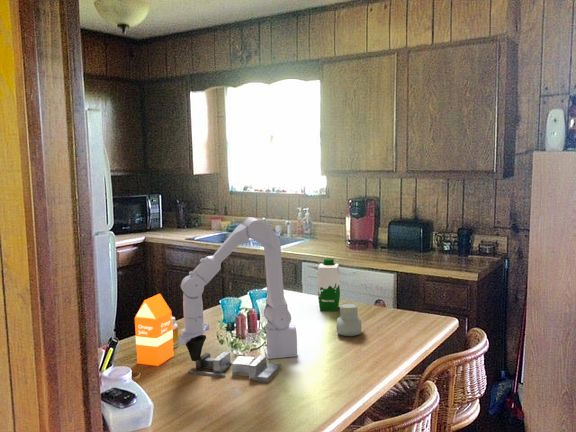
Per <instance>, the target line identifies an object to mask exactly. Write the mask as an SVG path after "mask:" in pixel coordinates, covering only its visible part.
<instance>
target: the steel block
mask: <svg viewBox="0 0 576 432" xmlns="http://www.w3.org/2000/svg"><path fill="white" fill-rule="evenodd" d="M255 359H256V357H254V356H241V355H239V356H237V357H236V359H234V361H232V362H233V363H232V365H231V371H232V376H243V377H249V365H250V364H251V363H252V362H253V361H254V360H255Z"/></svg>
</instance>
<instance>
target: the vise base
mask: <svg viewBox="0 0 576 432" xmlns="http://www.w3.org/2000/svg"><path fill="white" fill-rule="evenodd" d="M267 360H268V359H267V356H266V355H261V354H259V356H258V357H255V360H254V361H253V362H252V363H251V364H250V365H249V376H248V377H249V380H254V382H257V383H263V384H265V383H266V384H268V383H270V381H271V380H272V379H273V378H275V376H276V375H277V374H278V373H279V372H280V371H281V369H282V367H281V366H282V365H281V363H271V362H267ZM233 362H234V361H231V365H230V366H232V363H233ZM188 373H189V374H194V373H196V375H197V374H198V375H202V374H203V375H205V376H210V375H211V376H213V377H220V378H226V374H225V373H221V374H219V373H214V372H209V371H202V370H196V369H195V370H192V369H189V370H188Z"/></svg>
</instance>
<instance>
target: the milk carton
mask: <svg viewBox="0 0 576 432" xmlns="http://www.w3.org/2000/svg"><path fill="white" fill-rule="evenodd" d="M334 260H335V259H334V258H330V257H329V258H323V263H319V264H318V268H317V273H316V274H317V297H318V304H319V311H320V312H338V310H339V305H340V299H341V286H340V285H341V284H340V283H341V279H340V276H341V275H340V265H339V263H335V262H334Z"/></svg>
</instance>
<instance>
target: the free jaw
mask: <svg viewBox="0 0 576 432" xmlns="http://www.w3.org/2000/svg"><path fill="white" fill-rule="evenodd" d="M231 362H232V361H231V352H230V351H223V352H221V354H219V355H217V356H216V357H215V358H213V357H211V353H209V352H205V353H203V354H201V356H200V357H199V358H198V359H197V360H196V361H195V371H202V370H204V369H209V370H213V373H219V374H223V372H224V371H225V370H227V369H228V368H229V367H230V366H232V365H231Z"/></svg>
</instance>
